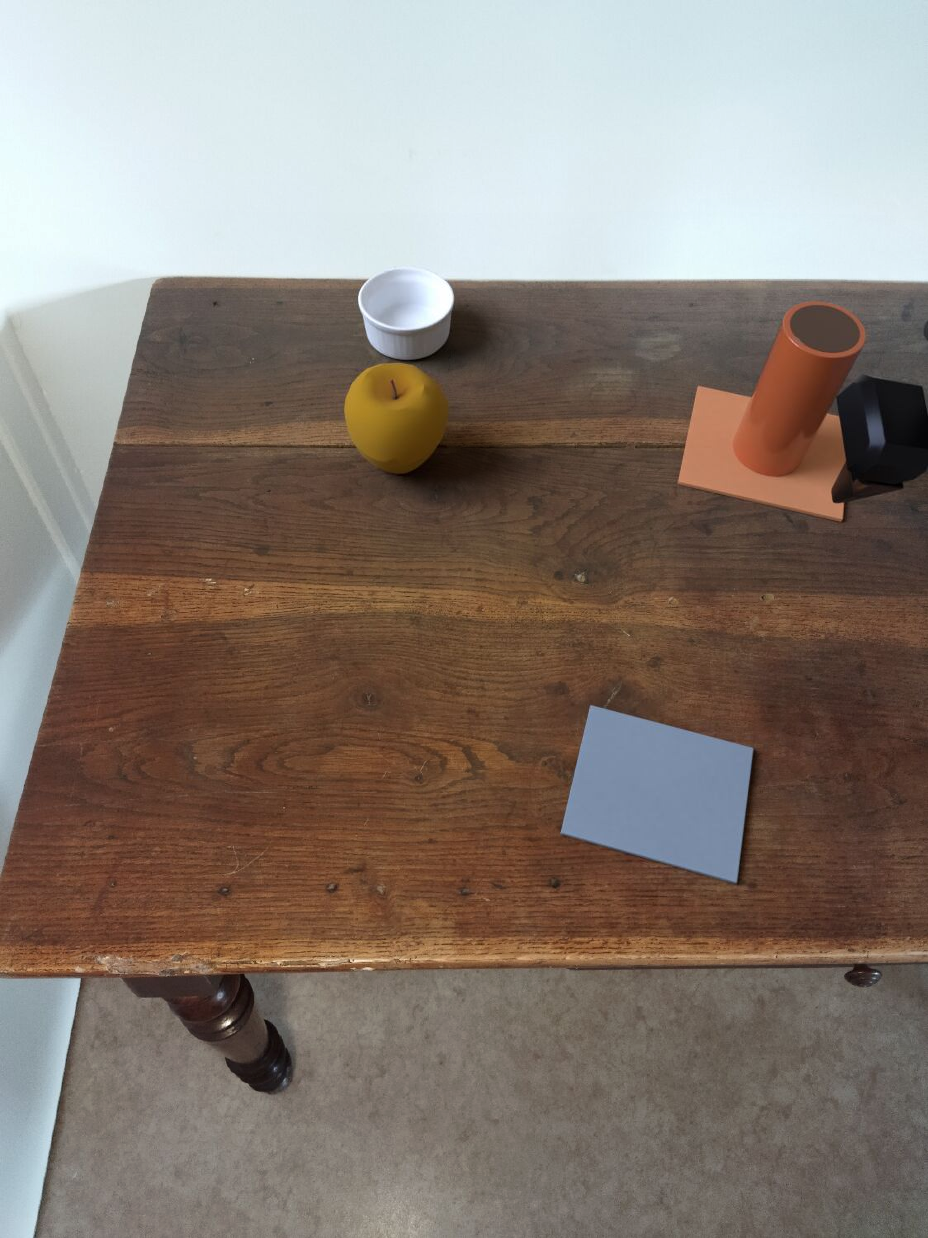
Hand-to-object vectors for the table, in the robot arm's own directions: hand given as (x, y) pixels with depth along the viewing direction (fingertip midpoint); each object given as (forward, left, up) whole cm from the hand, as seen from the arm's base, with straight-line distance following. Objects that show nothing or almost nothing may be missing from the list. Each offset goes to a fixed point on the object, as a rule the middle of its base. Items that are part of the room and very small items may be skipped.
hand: (890, 504), depth 62 cm
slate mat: (+11, +21, -10) cm, 26 cm away
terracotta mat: (+7, -13, -10) cm, 18 cm away
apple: (+38, -3, -11) cm, 39 cm away
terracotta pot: (+7, -13, -10) cm, 18 cm away
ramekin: (+42, -18, -11) cm, 47 cm away
